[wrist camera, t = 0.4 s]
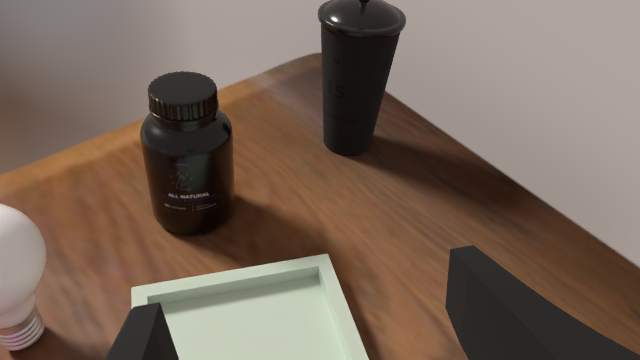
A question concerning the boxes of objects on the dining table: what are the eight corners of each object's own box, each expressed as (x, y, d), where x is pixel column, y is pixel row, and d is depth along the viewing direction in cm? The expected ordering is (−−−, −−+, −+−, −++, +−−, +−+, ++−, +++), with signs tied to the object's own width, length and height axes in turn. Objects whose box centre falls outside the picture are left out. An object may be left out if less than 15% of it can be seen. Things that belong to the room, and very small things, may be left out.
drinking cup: (328, 113, 57) (345, -83, 44) (393, 133, 55) (431, -67, 42) (297, 149, 51) (306, -63, 38) (367, 173, 49) (403, -44, 36)
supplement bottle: (182, 251, 40) (161, 124, 32) (139, 205, 44) (111, 81, 36) (252, 213, 44) (248, 91, 36) (207, 173, 48) (195, 55, 40)
